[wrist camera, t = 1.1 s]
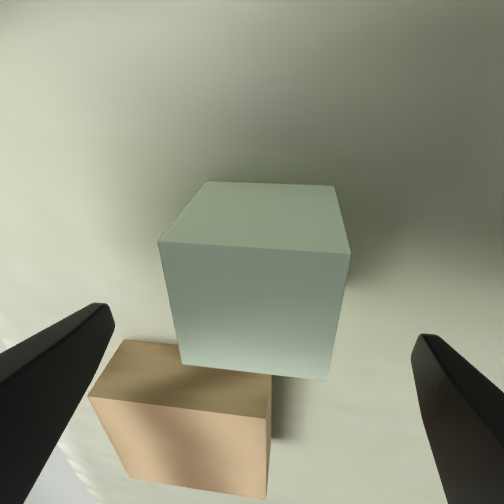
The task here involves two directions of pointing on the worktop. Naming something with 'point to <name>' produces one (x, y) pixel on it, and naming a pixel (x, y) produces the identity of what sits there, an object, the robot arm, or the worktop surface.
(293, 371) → the sage block
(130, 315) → the worktop surface
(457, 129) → the worktop surface
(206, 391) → the oak block
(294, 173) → the worktop surface
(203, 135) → the worktop surface
